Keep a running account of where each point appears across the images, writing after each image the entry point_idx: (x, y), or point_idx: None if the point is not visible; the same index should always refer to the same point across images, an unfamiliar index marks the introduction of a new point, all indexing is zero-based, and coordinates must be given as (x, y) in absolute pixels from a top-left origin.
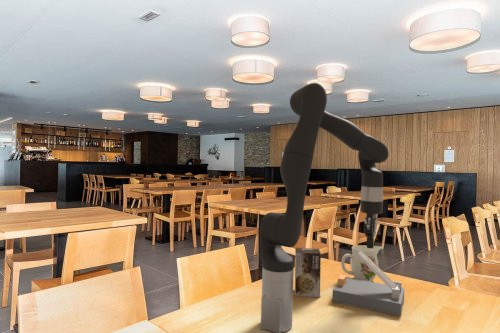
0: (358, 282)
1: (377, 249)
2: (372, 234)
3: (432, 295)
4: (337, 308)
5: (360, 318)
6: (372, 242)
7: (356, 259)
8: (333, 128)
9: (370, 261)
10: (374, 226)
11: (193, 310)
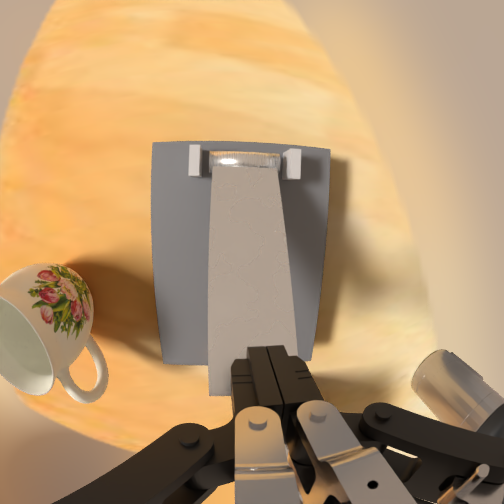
0: (192, 310)
1: None
2: (426, 417)
3: (93, 80)
4: (341, 318)
5: (374, 255)
6: (293, 378)
7: (70, 356)
8: None
9: (240, 310)
10: (405, 502)
11: (402, 451)
